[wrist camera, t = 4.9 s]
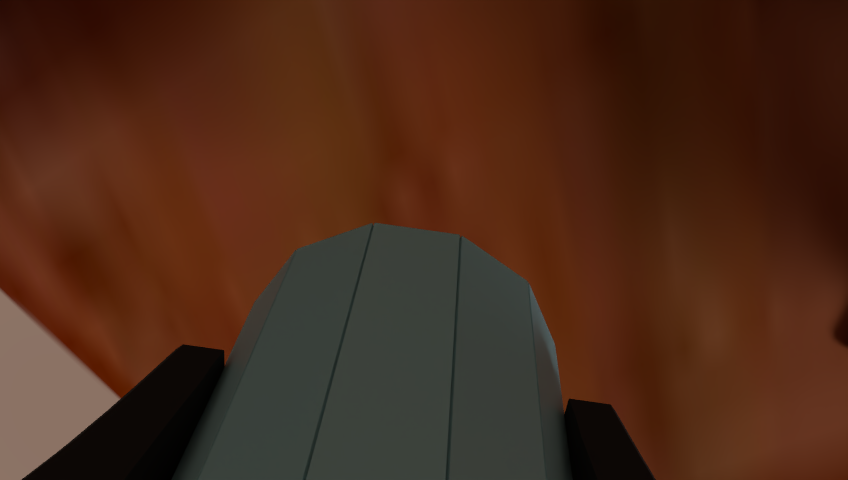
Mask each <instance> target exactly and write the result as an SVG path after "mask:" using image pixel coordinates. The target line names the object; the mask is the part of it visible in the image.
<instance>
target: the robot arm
mask: <svg viewBox="0 0 848 480" xmlns="http://www.w3.org/2000/svg"><path fill="white" fill-rule="evenodd" d="M224 367H225V366H224V350H219V349H212V348H205V347H197V346H190V345H182V346H180V347H179V348H177V349H176V350H175V351H174V352H173V353H171V354H170V355H169V356H168V357H167V358H166V359H165V360H164V361H163V362H161V363H160V364H159V365H158V366H157V367H156V368H155V369H154V370H153V371H152V372H150V373H149V374H148V375H147V376H146V377H145V378H144V379H143V380H142V381H140V382H139V383H138V384H137V385H136V386H135V387H134V388H133V389H132V390H130V391H129V392H128V393H127V394H126V395H125V396H124V397H122V398H121V399H120V400H119V401H118V402H117V403H116V404H114V405H113V406H112V407H111V408H110V409H109V410H108V411H106V412H105V413H104V414H103V415H102V416H100V417H99V418H98V419H97V420H96V421H94V422H93V423H92V424H91V425H90V426H88V427H87V428H86V429H85V430H84V431H83V432H81V433H80V434H79V435H78V436H77V437H75V438H74V439H73V440H72V441H71V442H70V443H68V444H67V445H66V446H64V447H63V448H62V449H61V450H59V451H58V452H57V453H56V454H54V455H53V456H52V457H50V458H49V459H48V460H47V461H45V462H44V463H43V464H41V465H40V466H39V467H38V468H36V469H35V470H34V471H32V472H31V473H30V474H29V475H27V476H26V477H24V478H23V479H22V480H171V479H172V477H173V475H174V473H175V471H176V469H177V466H178V464H179V462H180V460H181V458H182V456H183V454H184V451H185V449H186V447H187V445H188V443H189V441H190V439H191V437H192V434H193V432H194V430H195V428H196V426H197V424H198V422H199V420H200V418H201V416H202V414H203V412H204V410H205V408H206V405H207V403H208V401H209V399H210V397H211V395H212V393H213V390H214V388H215V386H216V384H217V382H218V380H219V378H220V376H221V373H222V371H223V369H224ZM564 418H565V426H566V433H567V441H568V448H569V456H570V464H571V471H572V478H573V480H656V479H655V478H654V476H653V474H652V473H651V471H650V469H649V468H648V466H647V464H646V463H645V461H644V460H643V458H642V456H641V454H640V453H639V451H638V449H637V448H636V446H635V444H634V443H633V441H632V439H631V437H630V436H629V434H628V432H627V430H626V429H625V427H624V425H623V423H622V422H621V420H620V418H619V417H618V415H617V413H616V411H615V410H614V409H613V407H612V406H611V405H610V404H603V403H596V402H589V401H582V400H575V399H569V401H568V404H567V408H566V411H565V414H564Z"/></svg>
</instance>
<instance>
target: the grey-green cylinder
mask: <svg viewBox="0 0 848 480" xmlns="http://www.w3.org/2000/svg"><path fill="white" fill-rule="evenodd" d="M171 480H573V478H572V471H571V464H570V456H569V448H568V441H567V433H566V426H565V418H564V410H563V402H562V395H561V387H560V379H559V372H558V364H557V357H556V349H555V344H554V341H553V339H552V337H551V334H550V332H549V330H548V327H547V325H546V322H545V320H544V318H543V315H542V313H541V311H540V308H539V306H538V303H537V301H536V299H535V296H534V294H533V292H532V289H531V287H530V284H529V283H528V281H526V280H525V279H523V278H522V277H521V276H519V275H518V274H516V273H515V272H513V271H512V270H511V269H509V268H508V267H506V266H505V265H503V264H502V263H501V262H499V261H498V260H496V259H495V258H493V257H492V256H490V255H489V254H488V253H486V252H485V251H483V250H482V249H480V248H479V247H478V246H476V245H475V244H473V243H472V242H470V241H469V240H468V239H466V238H465V237H463V236H461V237H460V235H458V234H450V233H443V232H436V231H429V230H422V229H415V228H408V227H401V226H393V225H386V224H379V223H375V224H374V226H373V224H372V223H371V224H368V225H365V226H362V227H360V228H357V229H354V230H351V231H348V232H345V233H342V234H339V235H336V236H334V237H331V238H328V239H325V240H322V241H319V242H316V243H313V244H310V245H308V246H305V247H302V248H299V249H297V251H296V250H295V252H294V253H293V254H292V255H291V257H290V258H289V259H288V260H287V262H286V263H285V264H284V266H283V267H282V268H281V269H280V271H279V272H278V273H277V274H276V276H275V277H274V278H273V280H272V281H271V282H270V283H269V285H268V286H267V287H266V288H265V290H264V291H263V292H262V294H261V295H260V296H259V297H258V299H257V300H256V301H255V302H254V304H253V307H252V309H251V311H250V313H249V315H248V317H247V319H246V322H245V324H244V326H243V328H242V330H241V332H240V334H239V336H238V339H237V341H236V343H235V345H234V347H233V349H232V351H231V353H230V356H229V358H228V360H227V362H226V364H225V367H224V369H223V371H222V373H221V376H220V378H219V380H218V382H217V384H216V386H215V388H214V390H213V393H212V395H211V397H210V399H209V401H208V403H207V405H206V408H205V410H204V412H203V414H202V416H201V418H200V420H199V422H198V424H197V426H196V428H195V430H194V432H193V434H192V437H191V439H190V441H189V443H188V445H187V447H186V449H185V451H184V454H183V456H182V458H181V460H180V462H179V464H178V466H177V469H176V471H175V473H174V475H173V477H172V479H171Z"/></svg>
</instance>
